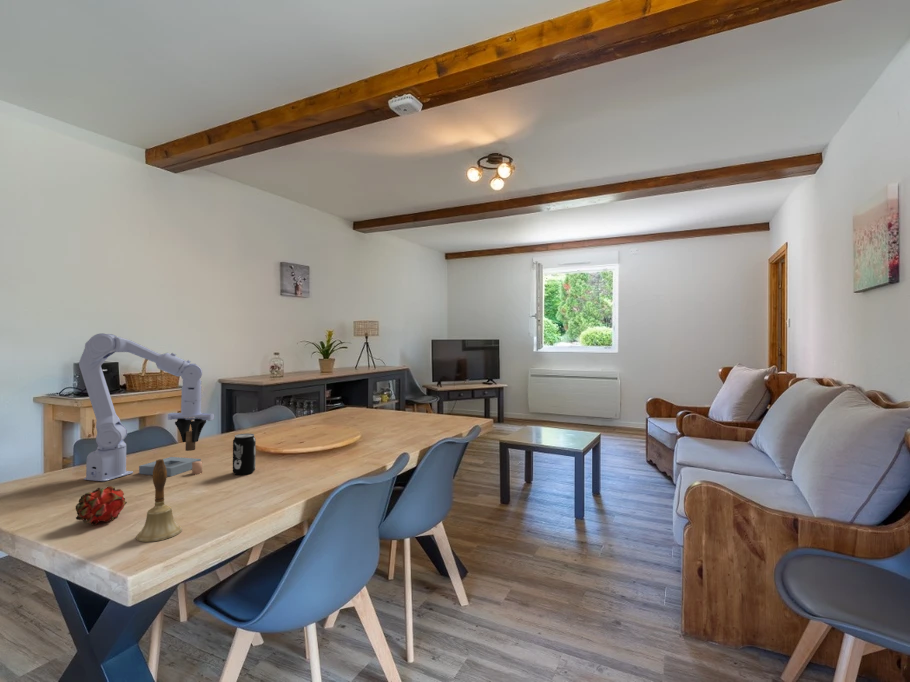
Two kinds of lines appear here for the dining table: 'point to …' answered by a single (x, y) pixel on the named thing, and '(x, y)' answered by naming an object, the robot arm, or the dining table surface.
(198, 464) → the short pin
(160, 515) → the hand bell
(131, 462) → the dining table surface
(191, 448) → the long pin
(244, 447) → the beverage can
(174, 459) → the hole block
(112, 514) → the dragon fruit
